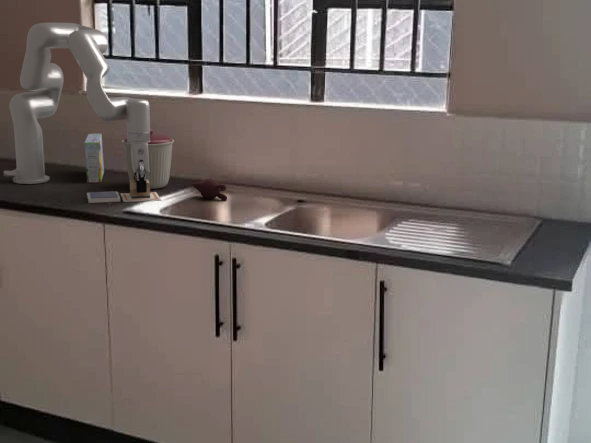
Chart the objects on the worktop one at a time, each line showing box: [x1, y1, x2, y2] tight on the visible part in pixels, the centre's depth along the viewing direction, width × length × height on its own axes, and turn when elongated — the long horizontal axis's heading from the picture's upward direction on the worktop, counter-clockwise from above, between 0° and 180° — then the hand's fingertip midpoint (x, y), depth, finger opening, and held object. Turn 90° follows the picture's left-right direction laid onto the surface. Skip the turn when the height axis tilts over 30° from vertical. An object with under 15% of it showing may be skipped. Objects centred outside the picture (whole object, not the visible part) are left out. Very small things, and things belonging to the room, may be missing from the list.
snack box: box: [84, 133, 105, 184], centre depth 305 cm, size 21×6×15 cm, turn 10°
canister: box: [121, 127, 175, 190], centre depth 290 cm, size 18×18×21 cm
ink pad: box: [86, 190, 121, 204], centre depth 272 cm, size 10×10×2 cm
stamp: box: [129, 175, 151, 199], centre depth 274 cm, size 6×6×7 cm
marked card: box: [120, 191, 162, 203], centre depth 275 cm, size 12×12×1 cm
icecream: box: [190, 178, 228, 201], centre depth 275 cm, size 7×7×15 cm
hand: (140, 189), depth 275 cm, fingers open, 8 cm apart
